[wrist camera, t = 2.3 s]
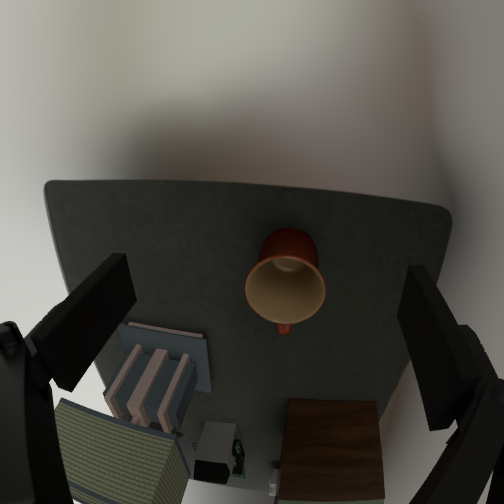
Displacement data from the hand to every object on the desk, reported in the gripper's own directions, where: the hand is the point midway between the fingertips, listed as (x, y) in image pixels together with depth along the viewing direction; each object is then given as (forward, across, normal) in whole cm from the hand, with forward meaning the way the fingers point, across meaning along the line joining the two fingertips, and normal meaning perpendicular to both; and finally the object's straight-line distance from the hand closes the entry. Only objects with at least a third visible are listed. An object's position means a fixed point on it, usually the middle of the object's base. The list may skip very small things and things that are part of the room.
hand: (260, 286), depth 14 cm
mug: (+27, 0, -13) cm, 30 cm away
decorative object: (+27, -12, -64) cm, 71 cm away
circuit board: (+27, -16, -79) cm, 85 cm away
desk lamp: (+27, -21, -33) cm, 48 cm away
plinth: (+27, +10, -51) cm, 59 cm away
